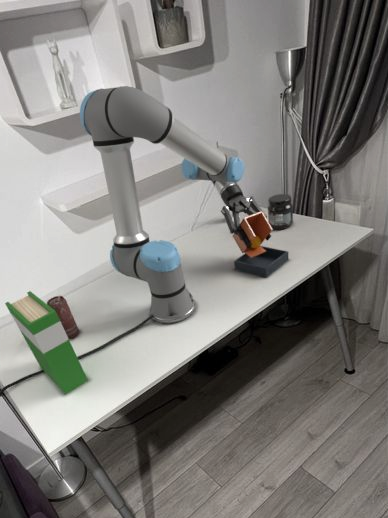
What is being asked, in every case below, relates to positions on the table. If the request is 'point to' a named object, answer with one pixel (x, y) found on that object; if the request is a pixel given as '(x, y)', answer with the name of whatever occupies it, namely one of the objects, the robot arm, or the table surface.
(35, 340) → the hardback book
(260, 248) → the orange open box
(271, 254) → the tray
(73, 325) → the can
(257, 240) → the ball
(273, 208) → the supplement container
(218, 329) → the table surface
